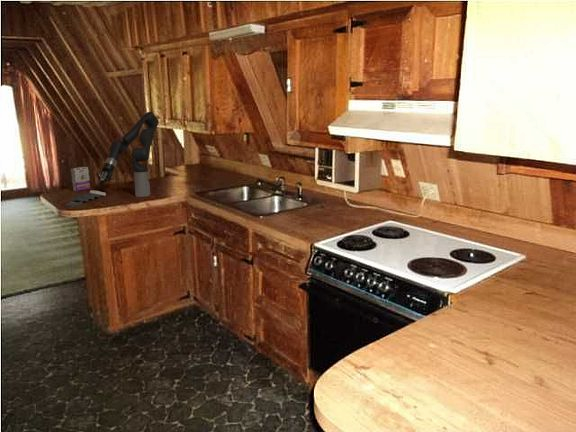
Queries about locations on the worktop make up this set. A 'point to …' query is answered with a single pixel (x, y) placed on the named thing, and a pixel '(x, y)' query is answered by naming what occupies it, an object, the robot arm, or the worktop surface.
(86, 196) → the domino
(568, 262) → the worktop surface
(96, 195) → the domino
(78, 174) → the candy bar box
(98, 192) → the ivory domino
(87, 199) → the domino
